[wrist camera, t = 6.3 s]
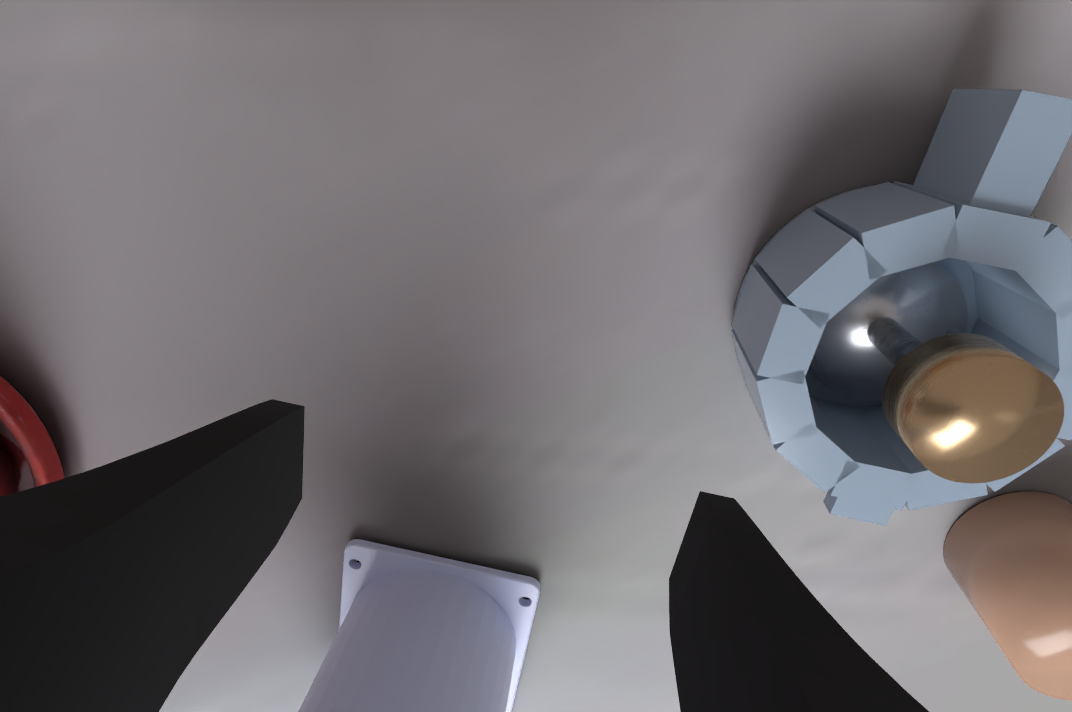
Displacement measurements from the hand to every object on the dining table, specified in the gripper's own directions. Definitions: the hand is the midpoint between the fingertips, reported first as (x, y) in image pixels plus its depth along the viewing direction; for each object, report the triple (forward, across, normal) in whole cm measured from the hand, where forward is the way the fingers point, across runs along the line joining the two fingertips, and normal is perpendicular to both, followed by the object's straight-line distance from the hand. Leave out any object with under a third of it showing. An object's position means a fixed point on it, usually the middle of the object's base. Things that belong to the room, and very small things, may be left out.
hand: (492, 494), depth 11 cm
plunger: (+10, -10, -2) cm, 14 cm away
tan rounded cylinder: (+10, -18, +5) cm, 21 cm away
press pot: (+10, -10, -2) cm, 15 cm away
